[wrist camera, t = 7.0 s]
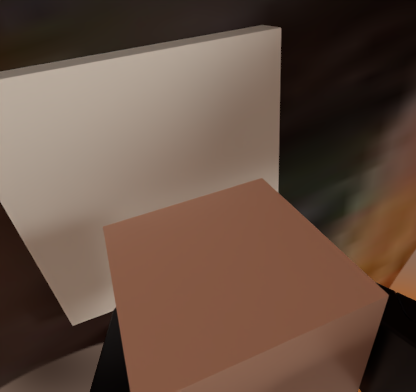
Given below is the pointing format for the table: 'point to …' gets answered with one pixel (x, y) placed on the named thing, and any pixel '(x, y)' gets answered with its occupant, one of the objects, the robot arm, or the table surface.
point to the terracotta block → (239, 298)
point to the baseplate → (131, 145)
